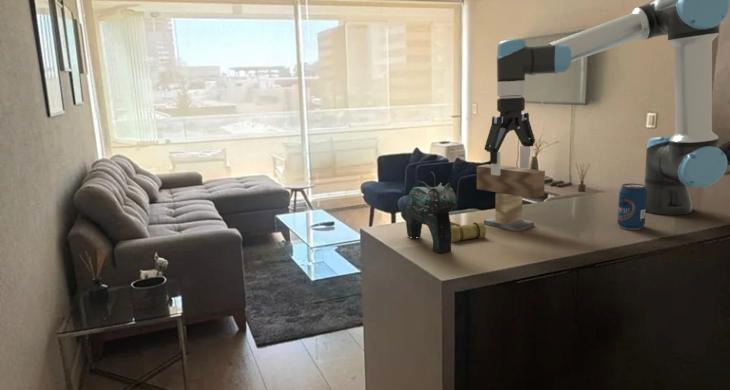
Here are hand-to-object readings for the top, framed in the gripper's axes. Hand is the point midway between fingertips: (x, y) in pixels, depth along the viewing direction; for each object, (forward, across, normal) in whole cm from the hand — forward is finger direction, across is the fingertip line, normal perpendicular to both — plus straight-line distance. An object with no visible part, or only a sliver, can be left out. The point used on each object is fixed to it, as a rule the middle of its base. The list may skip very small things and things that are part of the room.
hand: (510, 171), depth 148 cm
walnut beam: (+6, 0, 0) cm, 6 cm away
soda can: (+17, -21, +25) cm, 37 cm away
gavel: (+16, +16, -8) cm, 25 cm away
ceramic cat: (+16, +30, -4) cm, 35 cm away
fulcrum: (+16, 0, 0) cm, 16 cm away
